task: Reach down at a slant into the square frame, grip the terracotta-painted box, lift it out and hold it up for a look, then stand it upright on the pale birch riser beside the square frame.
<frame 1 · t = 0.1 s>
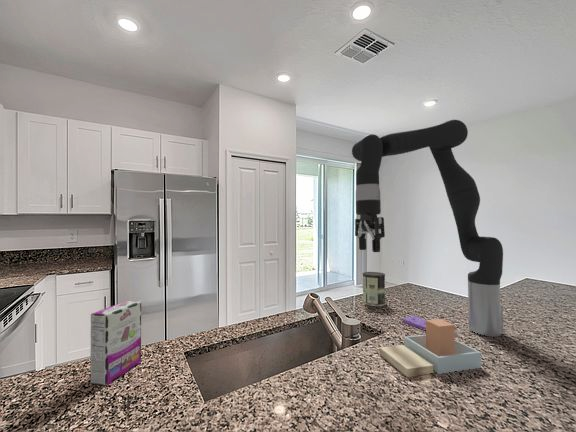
hand: (369, 250, 85), 29 cm above the countertop, tool pointing down, fingers open, 8 cm apart
candy bar box: (116, 373, 68), on the countertop
sponges: (422, 327, 101), on the countertop
square frame: (440, 358, 76), on the countertop
coffee can: (373, 303, 129), on the countertop
terracotta box: (440, 340, 76), in the square frame
riser: (404, 363, 73), on the countertop
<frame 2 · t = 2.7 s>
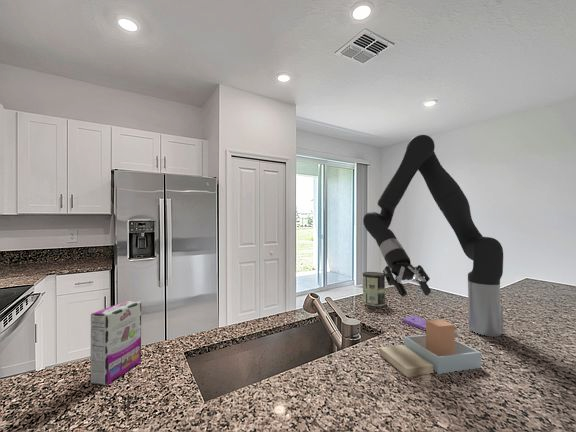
hand: (416, 294, 85), 15 cm above the countertop, tool tilted 45°, fingers open, 8 cm apart
nothing on the countertop moved.
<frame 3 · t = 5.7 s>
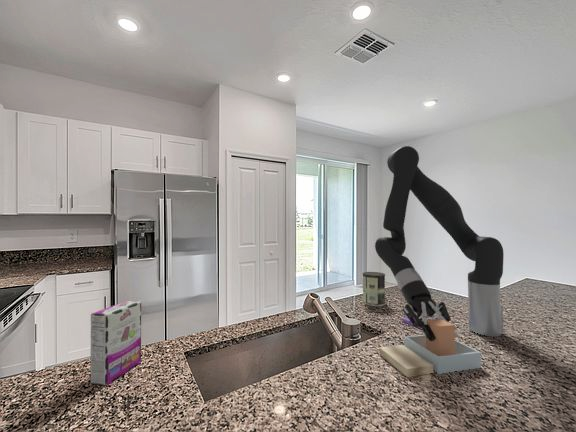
hand: (441, 338, 75), 6 cm above the countertop, tool tilted 45°, fingers closed on terracotta box, 5 cm apart
terracotta box: (440, 340, 76), in the square frame, touching gripper
everything else where it was.
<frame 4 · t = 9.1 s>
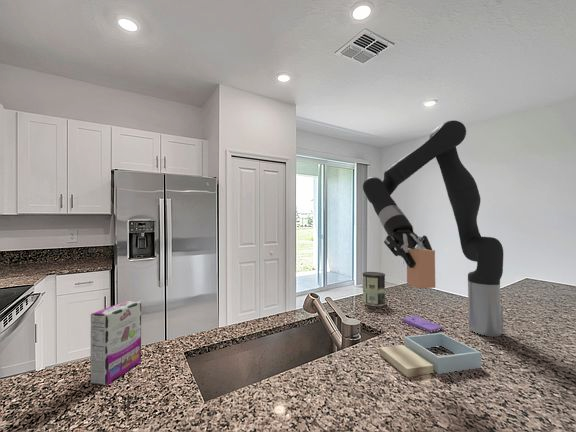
hand: (422, 265, 75), 26 cm above the countertop, tool tilted 45°, fingers closed on terracotta box, 5 cm apart
terracotta box: (420, 267, 75), point 25 cm above the countertop, touching gripper
everything else where it was.
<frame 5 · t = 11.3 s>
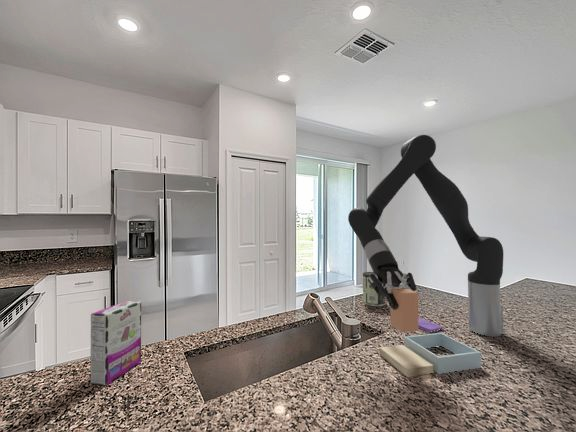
hand: (405, 307, 73), 15 cm above the countertop, tool tilted 45°, fingers closed on terracotta box, 5 cm apart
terracotta box: (404, 309, 73), point 14 cm above the countertop, touching gripper
everything else where it was.
when the fingers open (9 cm above the countertop, at t = 12.9 s): terracotta box drops 1 cm, resting on riser.
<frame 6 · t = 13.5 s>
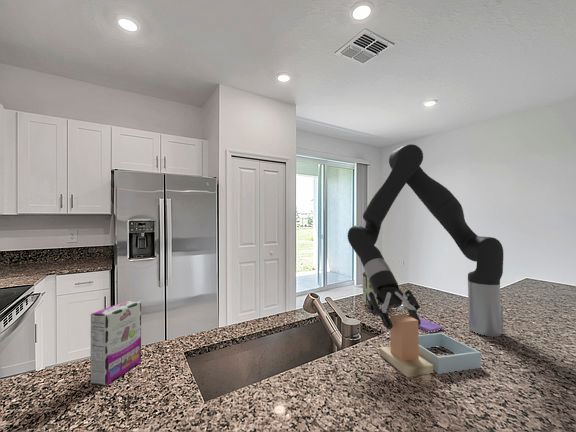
hand: (404, 327, 73), 10 cm above the countertop, tool tilted 45°, fingers open, 8 cm apart
terracotta box: (404, 336, 73), on the riser, point 7 cm above the countertop
everything else where it was.
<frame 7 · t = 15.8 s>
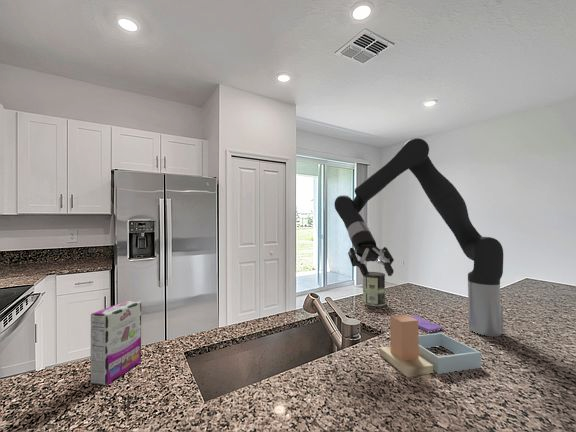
hand: (379, 275, 85), 21 cm above the countertop, tool tilted 45°, fingers open, 8 cm apart
nothing on the countertop moved.
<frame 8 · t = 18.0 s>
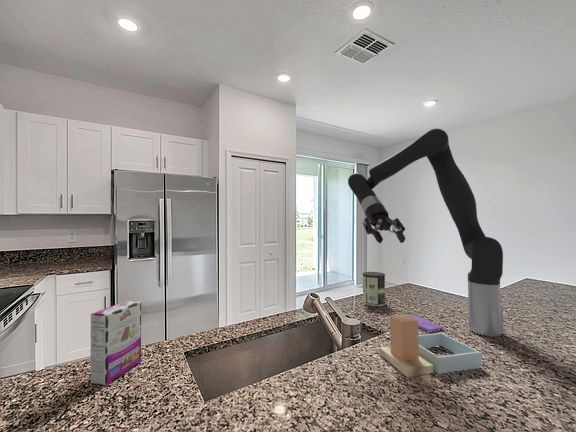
hand: (392, 241, 93), 32 cm above the countertop, tool tilted 45°, fingers open, 8 cm apart
nothing on the countertop moved.
at the end: terracotta box inside the target area on the riser (0.2 cm from its centre), point 7.0 cm above the riser's base; terracotta box tilted 0°; the gripper is holding nothing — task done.
